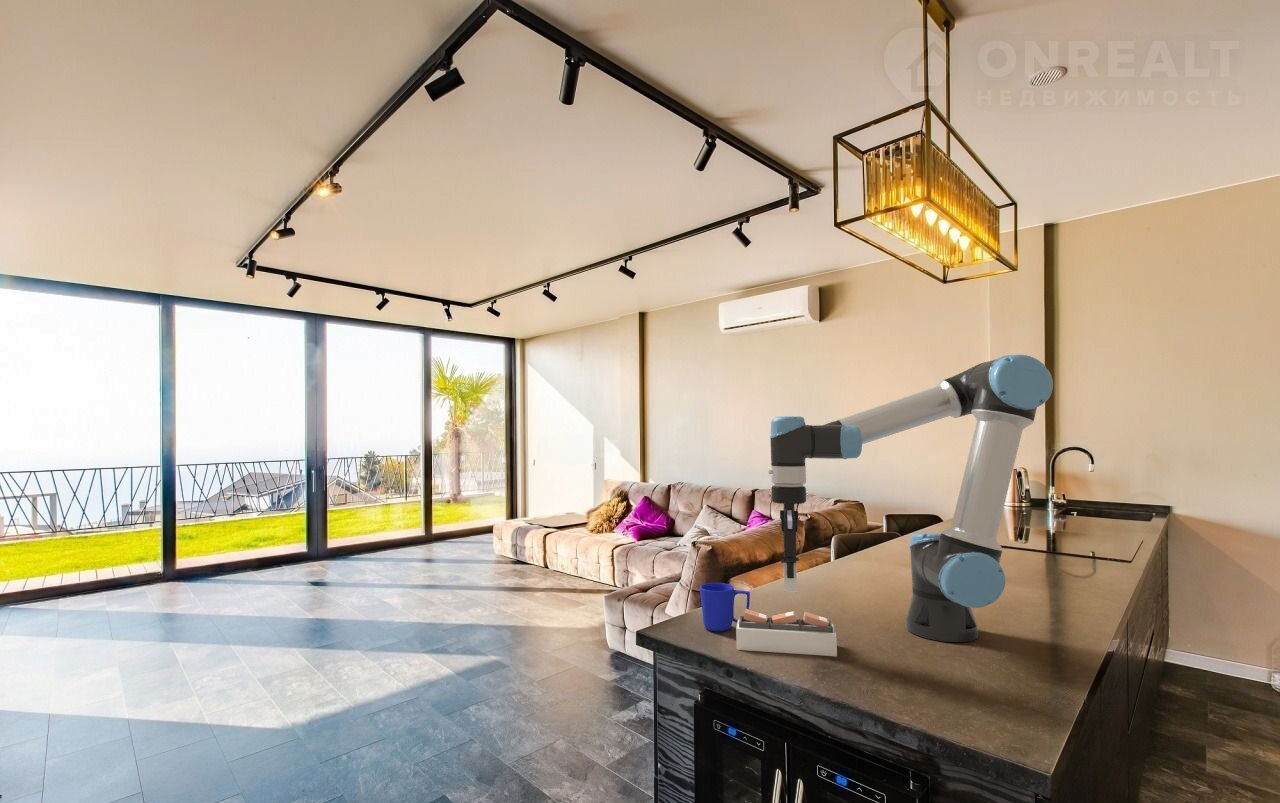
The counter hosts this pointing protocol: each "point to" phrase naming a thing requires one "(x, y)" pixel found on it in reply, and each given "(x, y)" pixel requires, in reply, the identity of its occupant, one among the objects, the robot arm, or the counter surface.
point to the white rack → (786, 637)
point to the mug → (719, 605)
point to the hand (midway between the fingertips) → (790, 591)
